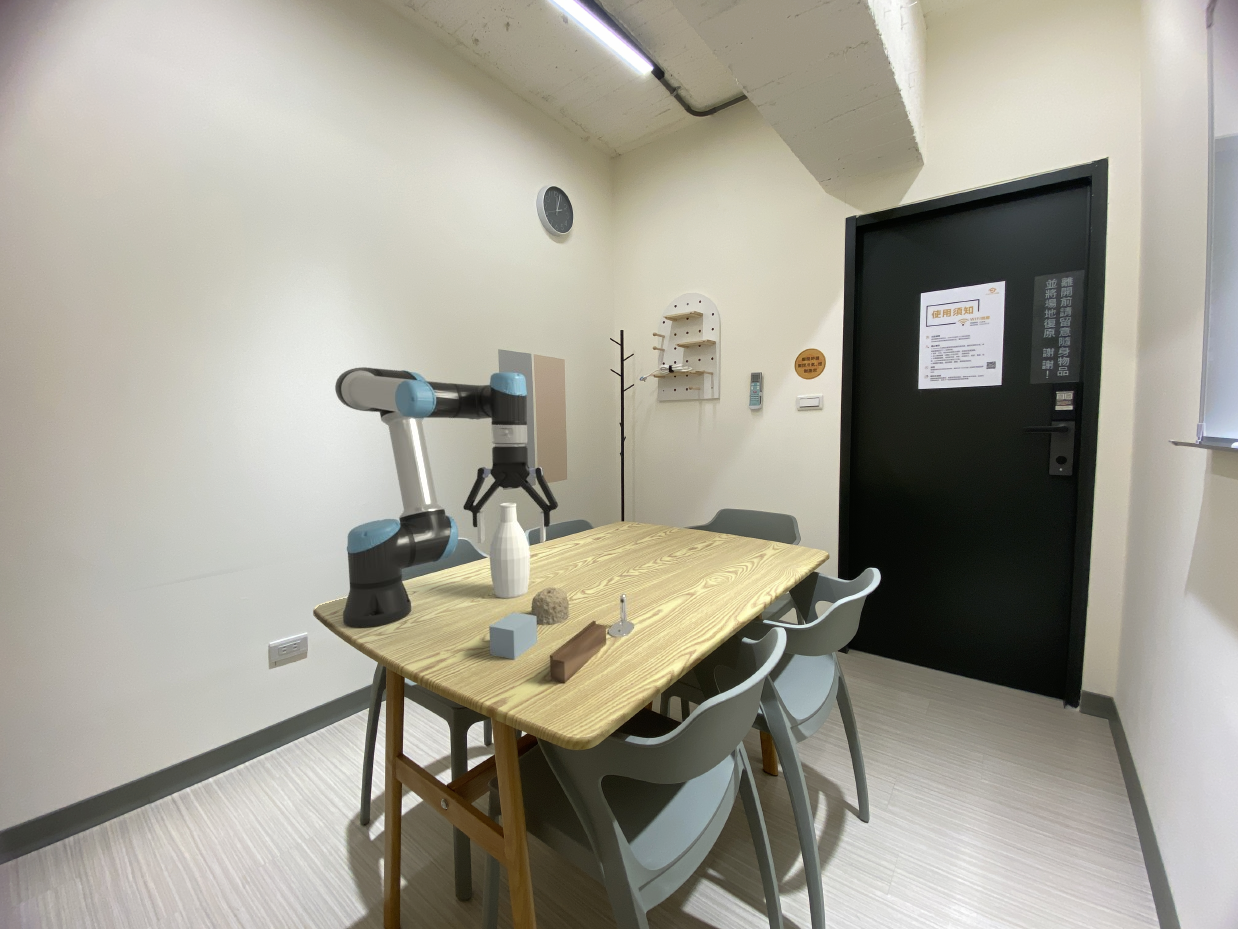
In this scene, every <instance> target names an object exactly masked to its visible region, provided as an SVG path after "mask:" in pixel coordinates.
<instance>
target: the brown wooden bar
mask: <svg viewBox="0 0 1238 929" xmlns="http://www.w3.org/2000/svg"><path fill="white" fill-rule="evenodd" d="M606 645H607V625H606V624H599V623H596V620H592V621H591V622H590V623H588V624H587V625H586V626H585V627H583V628H582V629H581V630H579V631H578V632H577V633H576V634H575V635H574V636H572V637H571V638H569V640H567V641H566V642H565V643H564V644H562V645H561V646H560V647H558V648H557V649H556V650H555V651H554V652H552V653H551V654H549V664H550V666H549V668H550V671H549V672H550V673H549V674H550V680H551V681H554V682H558V683H561V684H566V683H567V682H568V681H569V680H571V679H572V677H574V676H575V675H576V673H577V672H579V671H580V669H582V668H583V667H584V666H585V665H586V664H587V663H588V662H589V661H591V659H592V658H593V657H594V656H595V655H596V654H598V653H599V651H600V650H601V649H603V648H604V647H605V646H606Z"/></svg>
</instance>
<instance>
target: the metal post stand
mask: <svg viewBox="0 0 1238 929" xmlns="http://www.w3.org/2000/svg"><path fill="white" fill-rule="evenodd" d="M619 602H620V605H619V606H620V620H619V621H616V622H613V624H612V625H611V627H610V628H609V629H608V634H609V635H610V636H611V637H614V638H624V637H627V636H629V635H631V634H632V632H633V631H634V629H635V624H634V622H632V621H628V618H627V616H628V614H627V613H628V611H627V610H628V608H627V595H626V594H625V593H621V595H620V598H619Z"/></svg>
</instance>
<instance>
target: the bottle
mask: <svg viewBox="0 0 1238 929" xmlns="http://www.w3.org/2000/svg"><path fill="white" fill-rule="evenodd" d="M499 507H500V512H499V513H500V514H499V515H500V519H499V520H500V521H499V523H498V525H497V527H496V529H495V531H494V533H493V535H492V538H491V543H490V550H489V564H490V565H489V566H490V567H489V568H490V578H491V582H492V586H493V593H494V596H496V597H497V598H500V599H514V598H515V599H516V598H520V597H522V596H524V595H526V593H527V592H528V590H529V584H530V583H529V580H530V574H531V573H530V572H531V570H530V569H531V565H530V564H531V561H530V560H531V553H530V547H529V541H528V539H527V537H526V534H525V532H524V530H523V528H522V526H521V525H520V523H519V522H518V517H517V503H516V502H504V503H500V504H499Z"/></svg>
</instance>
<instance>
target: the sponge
mask: <svg viewBox="0 0 1238 929" xmlns="http://www.w3.org/2000/svg"><path fill="white" fill-rule="evenodd" d="M531 600H532V601H531V611H530V612H531V614H530V615H533V616H536V618H537V625H541V626H549V625H551V626H552V625H558V624H562V623H564V622H565V621H566V620H567V619H569V617H570V616H569V614H570V611H569V608H570V605H569V604H570V602H569V599H568V595H567V592H565V590H563V589H562V588H560V587H559V588H558V587H554V586H553V587H546V588H544V589H542V590H540V591H538V592H537V593H536V594H535V596H534V597H533V598H532V599H531Z"/></svg>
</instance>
